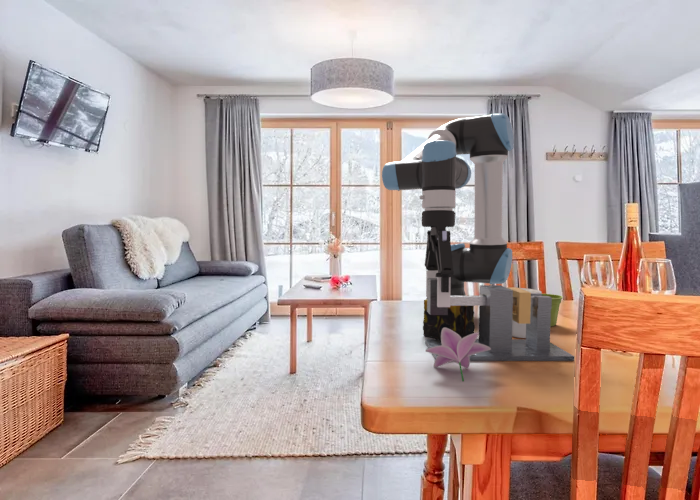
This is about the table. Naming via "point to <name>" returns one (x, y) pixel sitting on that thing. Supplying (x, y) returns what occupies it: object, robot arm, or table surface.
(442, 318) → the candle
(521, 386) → the table surface
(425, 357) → the table surface
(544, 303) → the shaft stand
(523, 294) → the tan rectangular block
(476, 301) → the shaft
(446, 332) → the lily
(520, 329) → the candle holder
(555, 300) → the plant pot
